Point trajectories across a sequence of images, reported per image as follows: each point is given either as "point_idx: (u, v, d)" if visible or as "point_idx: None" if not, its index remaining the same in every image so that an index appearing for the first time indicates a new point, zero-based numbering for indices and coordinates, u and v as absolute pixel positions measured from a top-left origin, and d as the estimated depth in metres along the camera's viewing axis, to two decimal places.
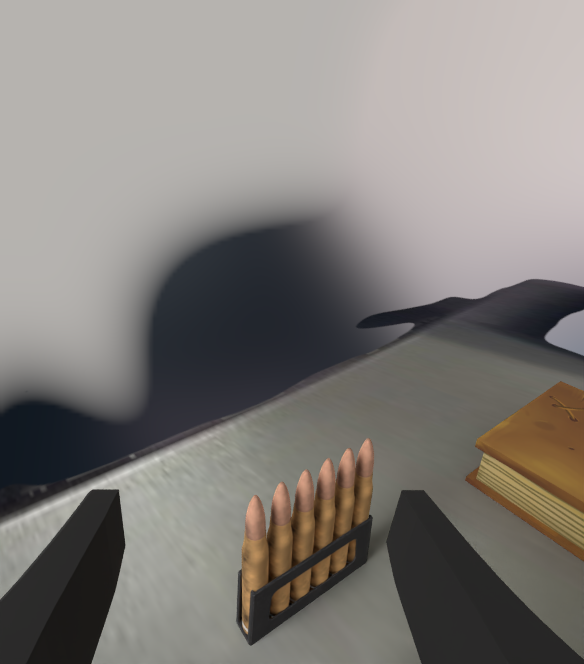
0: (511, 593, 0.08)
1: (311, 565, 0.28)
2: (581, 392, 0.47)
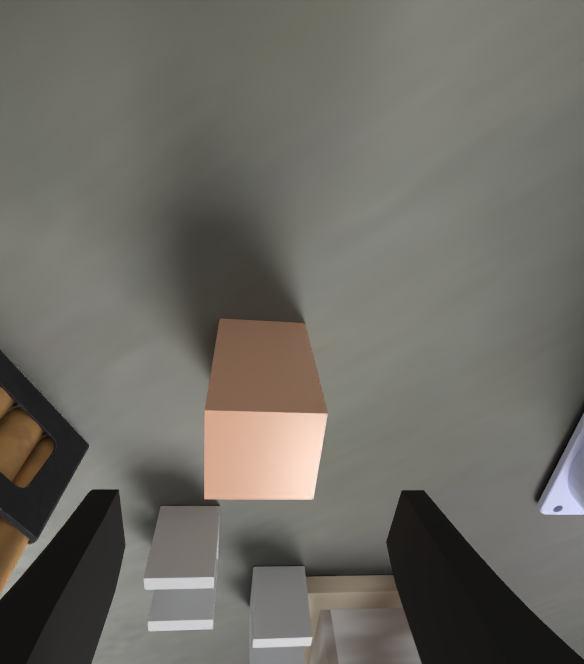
0: (511, 593, 0.08)
1: None
2: None
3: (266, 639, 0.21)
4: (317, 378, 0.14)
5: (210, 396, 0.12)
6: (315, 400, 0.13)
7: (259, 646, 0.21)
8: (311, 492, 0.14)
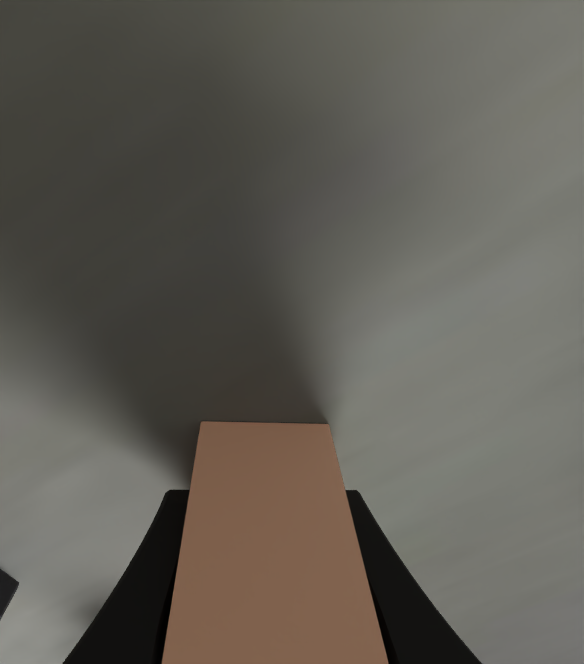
0: (422, 596, 0.08)
1: None
2: None
3: None
4: (361, 565, 0.08)
5: (171, 640, 0.07)
6: (365, 636, 0.07)
7: None
8: None
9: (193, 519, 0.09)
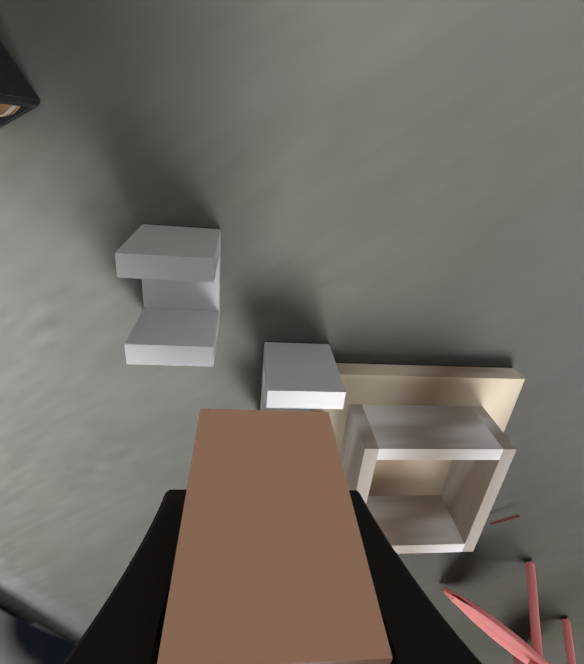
0: (422, 596, 0.08)
1: None
2: None
3: (285, 392, 0.16)
4: (361, 548, 0.08)
5: (170, 620, 0.07)
6: (366, 616, 0.07)
7: (275, 405, 0.16)
8: None
9: (192, 503, 0.09)
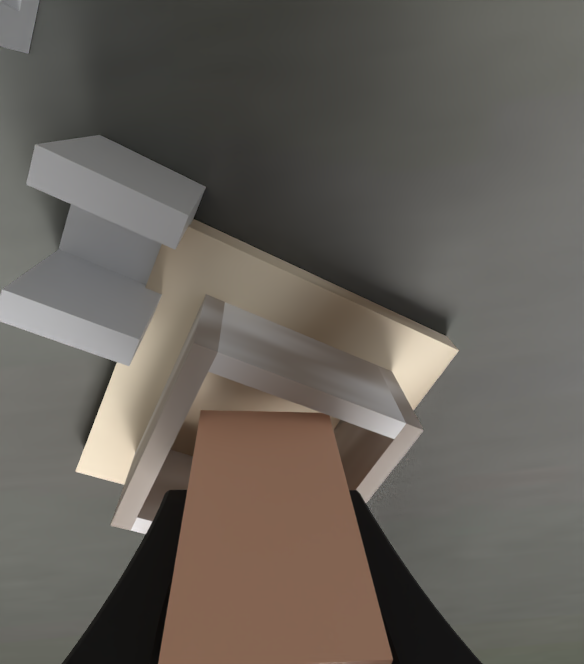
0: (422, 595, 0.08)
1: None
2: None
3: (71, 165, 0.08)
4: (361, 549, 0.08)
5: (171, 622, 0.07)
6: (366, 617, 0.07)
7: (46, 186, 0.08)
8: None
9: (193, 504, 0.09)
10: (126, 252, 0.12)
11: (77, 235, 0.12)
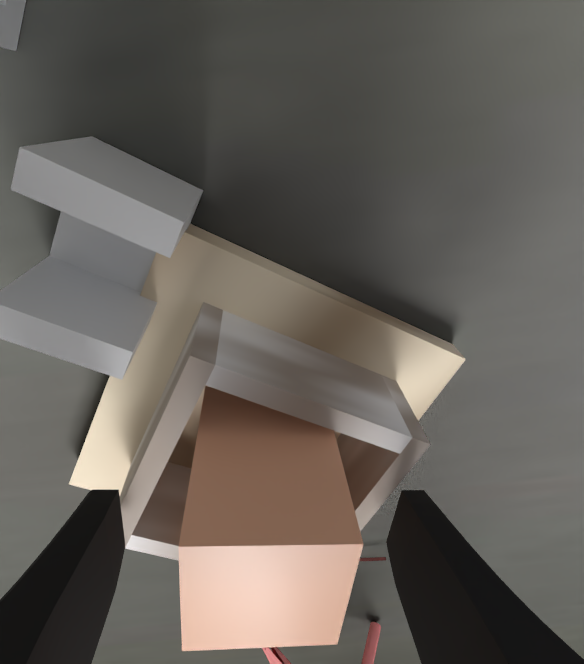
0: (511, 593, 0.08)
1: None
2: None
3: (58, 169, 0.08)
4: (342, 472, 0.10)
5: (188, 516, 0.08)
6: (344, 517, 0.09)
7: (32, 191, 0.08)
8: (334, 636, 0.10)
9: (203, 439, 0.10)
10: (120, 258, 0.11)
11: (68, 241, 0.11)
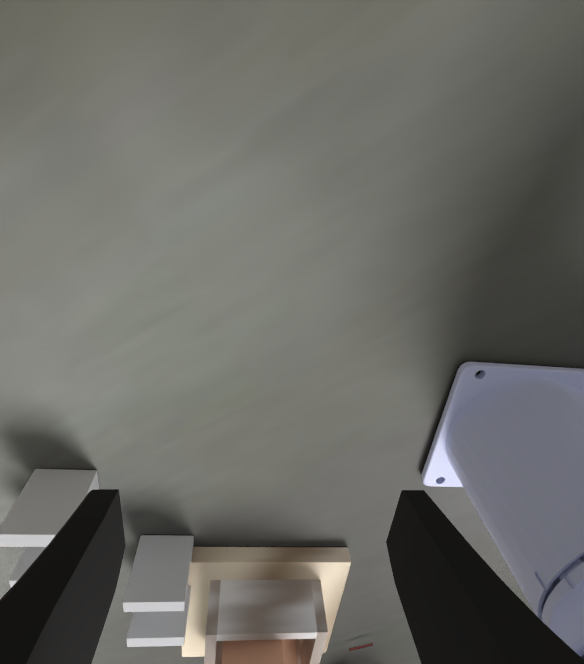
0: (511, 593, 0.08)
1: None
2: None
3: (136, 603, 0.21)
4: None
5: None
6: None
7: (130, 610, 0.21)
8: None
9: (224, 657, 0.24)
10: None
11: None
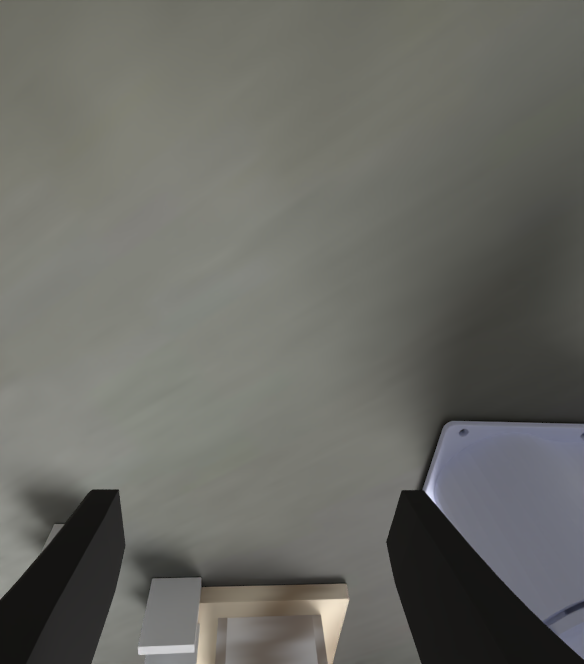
0: (511, 593, 0.08)
1: None
2: None
3: (150, 647, 0.23)
4: None
5: None
6: None
7: (145, 653, 0.23)
8: None
9: None
10: None
11: None
